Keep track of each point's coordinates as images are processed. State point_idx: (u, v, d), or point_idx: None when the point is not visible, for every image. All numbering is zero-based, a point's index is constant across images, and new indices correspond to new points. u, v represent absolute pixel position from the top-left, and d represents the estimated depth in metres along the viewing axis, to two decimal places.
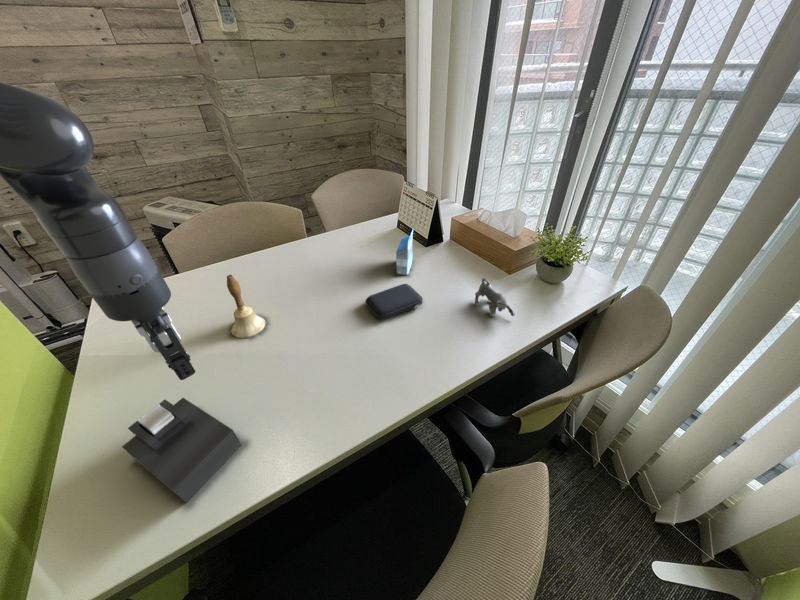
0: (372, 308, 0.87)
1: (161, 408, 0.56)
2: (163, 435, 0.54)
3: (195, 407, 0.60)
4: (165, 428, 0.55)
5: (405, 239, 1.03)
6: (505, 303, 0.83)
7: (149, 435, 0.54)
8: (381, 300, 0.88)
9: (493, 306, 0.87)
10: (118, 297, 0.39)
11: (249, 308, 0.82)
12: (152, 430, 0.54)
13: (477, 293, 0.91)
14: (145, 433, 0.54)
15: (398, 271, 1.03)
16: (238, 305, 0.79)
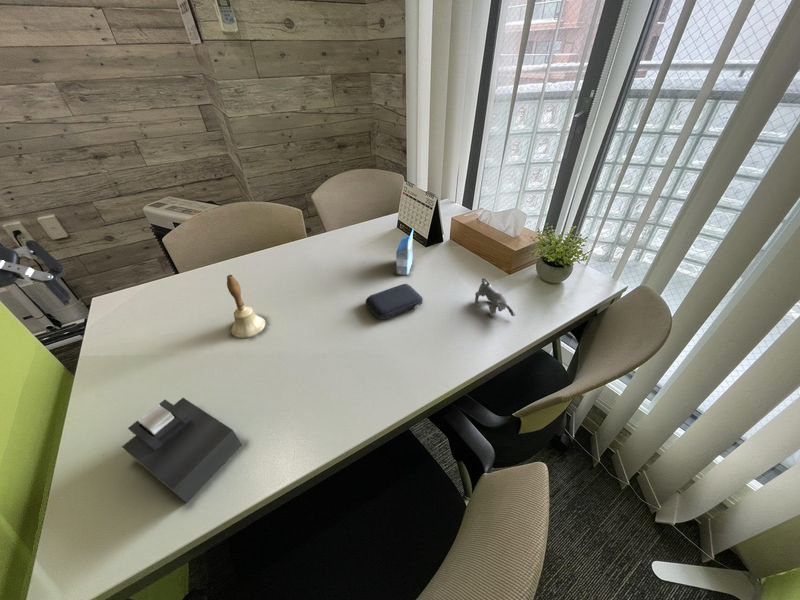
0: (372, 308, 0.87)
1: (161, 408, 0.56)
2: (163, 435, 0.54)
3: (195, 407, 0.60)
4: (165, 428, 0.55)
5: (405, 239, 1.03)
6: (505, 303, 0.83)
7: (149, 435, 0.54)
8: (381, 300, 0.88)
9: (493, 306, 0.87)
10: None
11: (249, 308, 0.82)
12: (152, 430, 0.54)
13: (477, 293, 0.91)
14: (145, 433, 0.54)
15: (398, 271, 1.03)
16: (238, 305, 0.79)
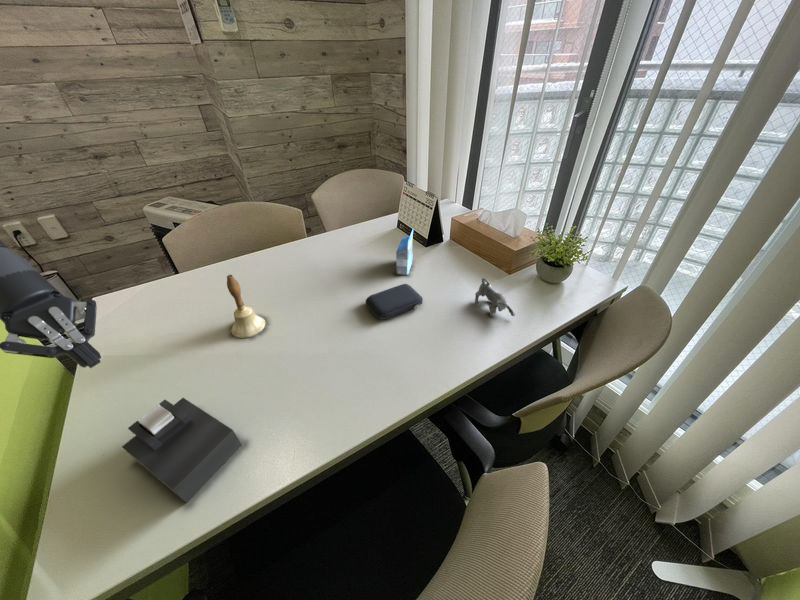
0: (372, 308, 0.87)
1: (161, 408, 0.56)
2: (163, 435, 0.54)
3: (195, 407, 0.60)
4: (165, 428, 0.55)
5: (405, 239, 1.03)
6: (505, 303, 0.83)
7: (149, 435, 0.54)
8: (381, 300, 0.88)
9: (493, 306, 0.87)
10: (37, 272, 0.52)
11: (249, 308, 0.82)
12: (152, 430, 0.54)
13: (477, 293, 0.91)
14: (145, 433, 0.54)
15: (398, 271, 1.03)
16: (238, 305, 0.79)
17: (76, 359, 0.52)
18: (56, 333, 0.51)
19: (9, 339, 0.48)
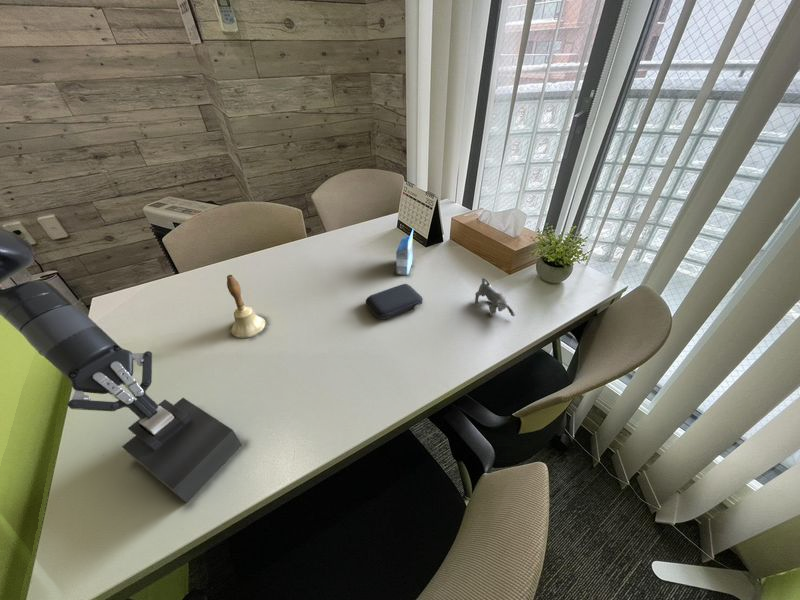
0: (372, 308, 0.87)
1: (162, 409, 0.57)
2: (163, 435, 0.54)
3: (195, 407, 0.60)
4: (165, 428, 0.55)
5: (405, 239, 1.03)
6: (505, 303, 0.83)
7: (149, 435, 0.54)
8: (381, 300, 0.88)
9: (493, 306, 0.87)
10: (98, 328, 0.53)
11: (249, 308, 0.82)
12: (153, 431, 0.54)
13: (477, 293, 0.91)
14: (145, 433, 0.54)
15: (398, 271, 1.03)
16: (238, 305, 0.79)
17: (136, 412, 0.53)
18: (118, 388, 0.52)
19: (76, 396, 0.50)
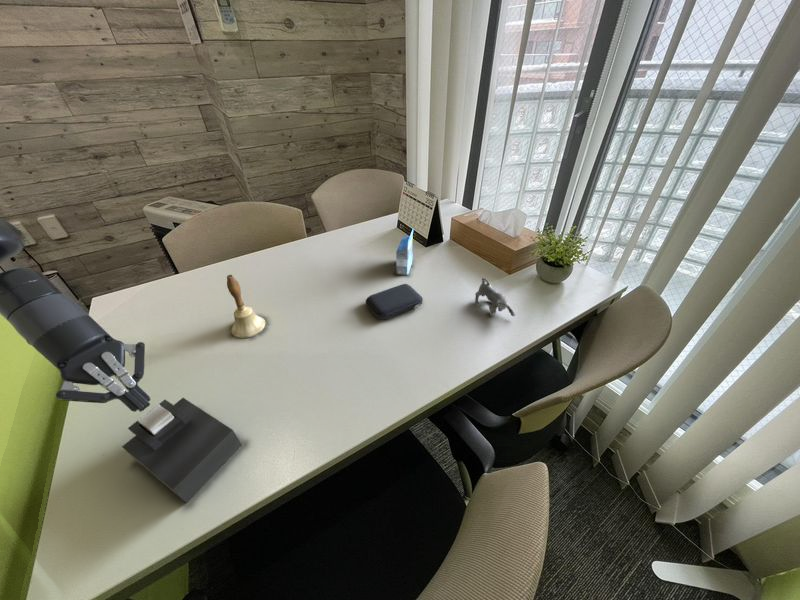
0: (372, 308, 0.87)
1: (161, 408, 0.56)
2: (163, 435, 0.54)
3: (195, 407, 0.60)
4: (165, 428, 0.55)
5: (405, 239, 1.03)
6: (505, 303, 0.83)
7: (149, 435, 0.54)
8: (381, 300, 0.88)
9: (493, 306, 0.87)
10: (89, 317, 0.52)
11: (249, 308, 0.82)
12: (152, 430, 0.54)
13: (477, 293, 0.91)
14: (145, 433, 0.54)
15: (398, 271, 1.03)
16: (238, 305, 0.79)
17: (128, 404, 0.52)
18: (109, 379, 0.51)
19: (65, 387, 0.48)
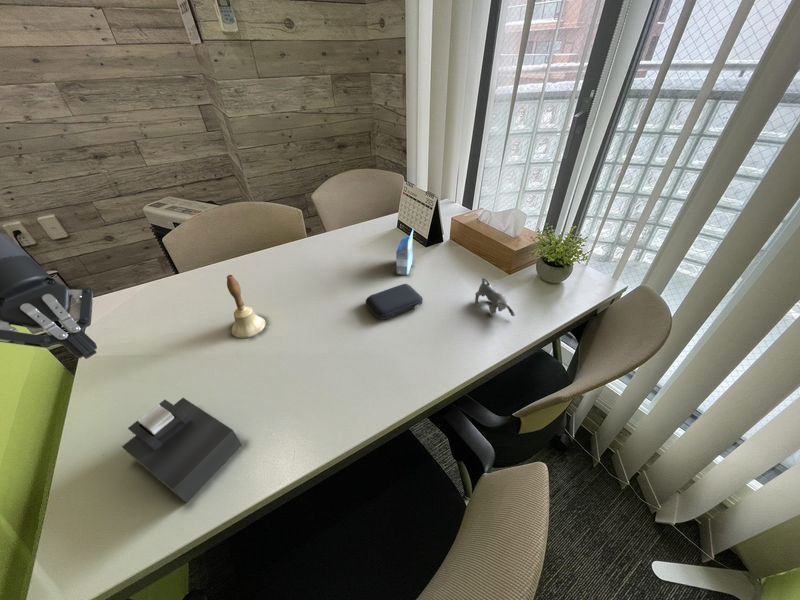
0: (372, 308, 0.87)
1: (161, 408, 0.56)
2: (163, 435, 0.54)
3: (195, 407, 0.60)
4: (165, 428, 0.55)
5: (405, 239, 1.03)
6: (505, 303, 0.83)
7: (149, 435, 0.54)
8: (381, 300, 0.88)
9: (493, 306, 0.87)
10: (30, 258, 0.49)
11: (249, 308, 0.82)
12: (152, 430, 0.54)
13: (477, 293, 0.91)
14: (145, 433, 0.54)
15: (398, 271, 1.03)
16: (238, 305, 0.79)
17: (71, 349, 0.49)
18: (50, 321, 0.48)
19: (0, 327, 0.46)
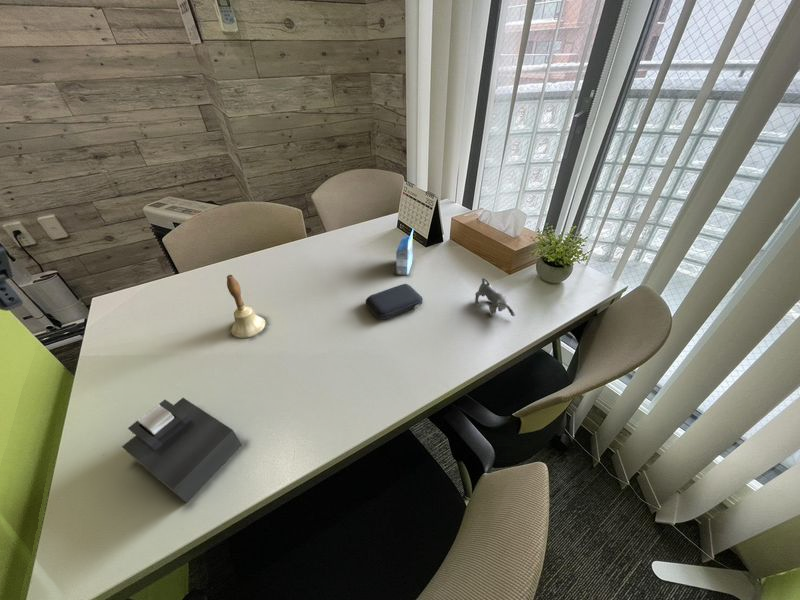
0: (372, 308, 0.87)
1: (161, 408, 0.56)
2: (163, 435, 0.54)
3: (195, 407, 0.60)
4: (165, 428, 0.55)
5: (405, 239, 1.03)
6: (505, 303, 0.83)
7: (149, 435, 0.54)
8: (381, 300, 0.88)
9: (493, 306, 0.87)
10: None
11: (249, 308, 0.82)
12: (152, 430, 0.54)
13: (477, 293, 0.91)
14: (145, 433, 0.54)
15: (398, 271, 1.03)
16: (238, 305, 0.79)
17: None
18: None
19: None
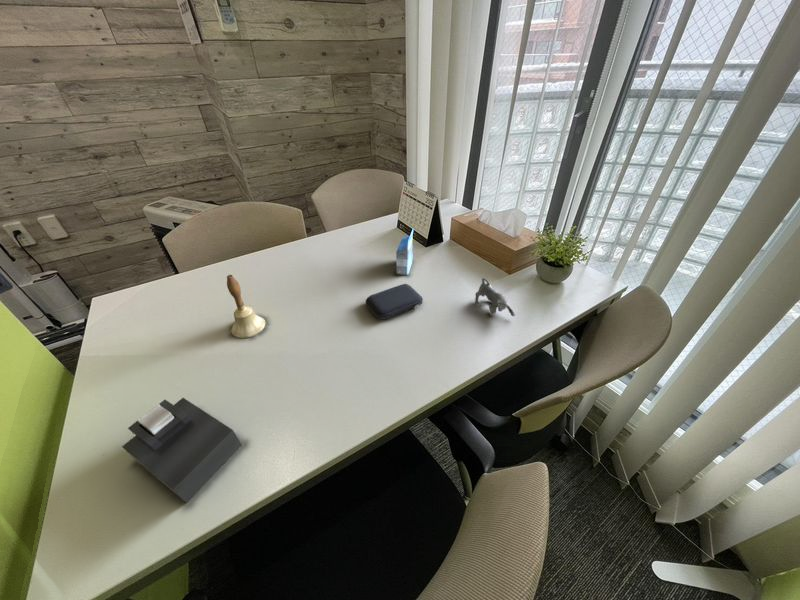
0: (372, 308, 0.87)
1: (161, 408, 0.56)
2: (163, 435, 0.54)
3: (195, 407, 0.60)
4: (165, 428, 0.55)
5: (405, 239, 1.03)
6: (505, 303, 0.83)
7: (149, 435, 0.54)
8: (381, 300, 0.88)
9: (493, 306, 0.87)
10: None
11: (249, 308, 0.82)
12: (152, 430, 0.54)
13: (477, 293, 0.91)
14: (145, 433, 0.54)
15: (398, 271, 1.03)
16: (238, 305, 0.79)
17: None
18: None
19: None
